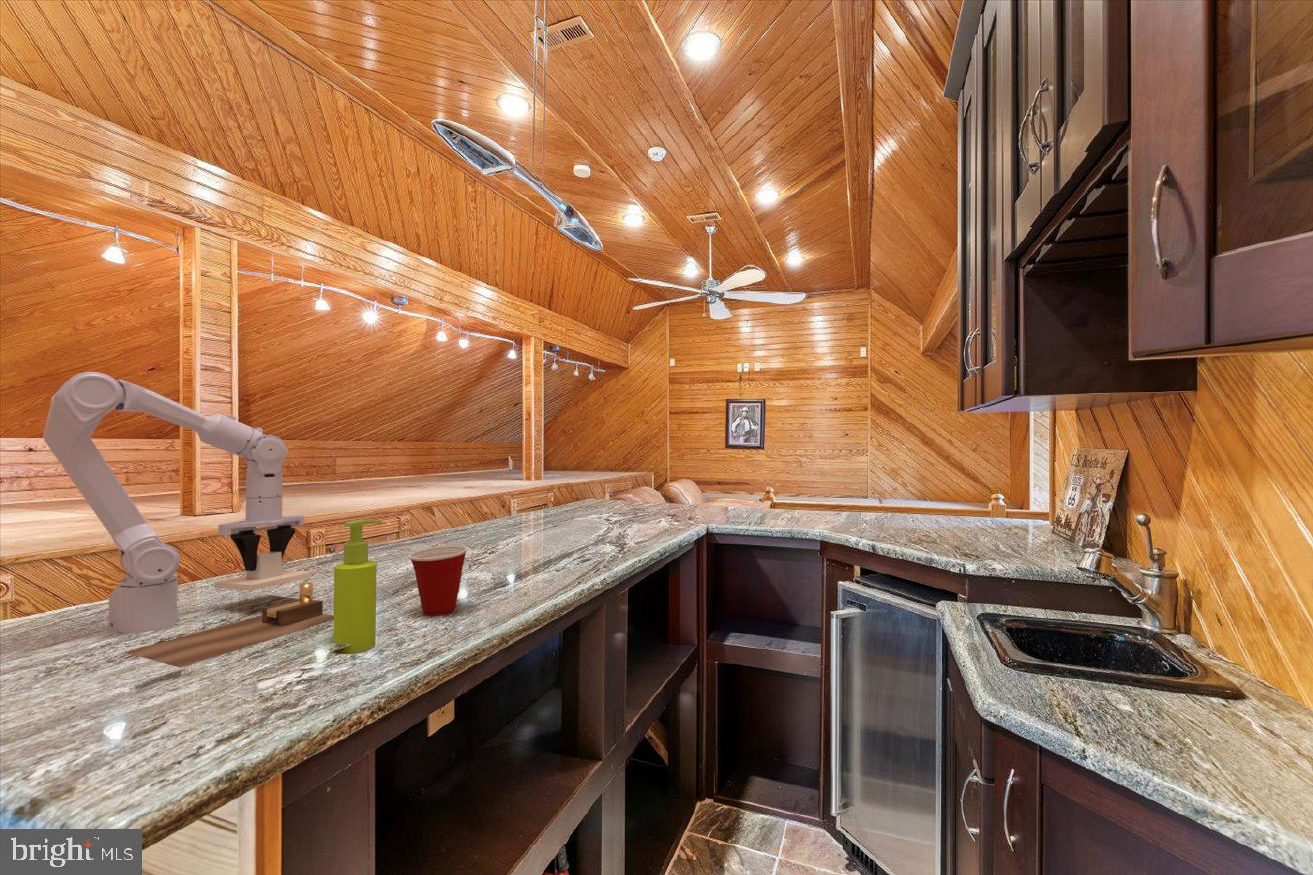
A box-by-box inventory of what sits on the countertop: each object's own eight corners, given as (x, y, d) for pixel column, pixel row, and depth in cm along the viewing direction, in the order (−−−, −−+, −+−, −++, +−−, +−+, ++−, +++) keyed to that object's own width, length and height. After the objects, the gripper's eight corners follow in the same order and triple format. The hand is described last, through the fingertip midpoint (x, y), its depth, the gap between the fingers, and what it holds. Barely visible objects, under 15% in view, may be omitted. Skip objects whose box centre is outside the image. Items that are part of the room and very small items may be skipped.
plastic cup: (397, 611, 105) (398, 549, 105) (452, 600, 112) (452, 542, 113) (421, 624, 97) (422, 557, 97) (477, 611, 105) (478, 549, 105)
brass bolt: (266, 616, 92) (267, 591, 93) (307, 605, 99) (307, 582, 99) (276, 618, 92) (276, 593, 92) (316, 606, 98) (316, 583, 98)
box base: (124, 662, 80) (125, 635, 80) (289, 615, 102) (289, 594, 102) (180, 678, 74) (181, 648, 74) (341, 625, 96) (341, 602, 96)
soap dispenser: (389, 642, 88) (390, 519, 89) (349, 656, 82) (351, 524, 82) (364, 636, 91) (366, 517, 91) (324, 650, 85) (326, 522, 85)
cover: (214, 587, 101) (213, 557, 101) (275, 574, 111) (274, 547, 111) (252, 590, 97) (251, 559, 97) (311, 577, 107) (311, 549, 107)
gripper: (236, 501, 96) (234, 578, 96) (314, 494, 110) (313, 562, 109) (211, 499, 99) (210, 574, 99) (291, 493, 112) (290, 559, 112)
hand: (263, 567), depth 104 cm, fingers closed on cover, 4 cm apart
